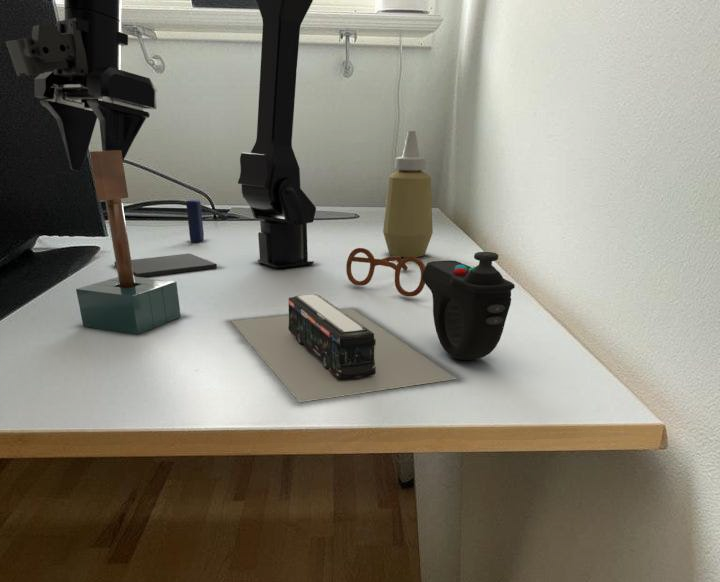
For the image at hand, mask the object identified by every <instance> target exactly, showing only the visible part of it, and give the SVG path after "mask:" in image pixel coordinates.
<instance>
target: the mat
mask: <svg viewBox="0 0 720 582" xmlns="http://www.w3.org/2000/svg"><path fill="white" fill-rule="evenodd" d="M131 261H132V268H133V274H134V277H142V278H150V277H156V276H164V275H171V274H178V273H179V274H180V273H189V272H197V271H204V270H210V269H211V270H212V269H217V268H218V264H217V263H215V262H213V261H210V260H207V259H204V258H202V257H200V256H197V255H194V254H193V253H180V254H173V255H172V254H171V255H161V256H154V257H145V258H144V257H143V258H136V259H131ZM114 266H115V267H116V261H114Z"/></svg>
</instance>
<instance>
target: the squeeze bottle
mask: <svg viewBox="0 0 720 582" xmlns="http://www.w3.org/2000/svg"><path fill="white" fill-rule="evenodd" d="M403 146H404V147H403V151H402V156H399V157H398V156H397V157H395V167H394V168H395V170H396V171H394V172H392V173H391V174H390V175H389V177H388V184H387V193H386V201H385V208H384V209H385V211H384V217H383V219H384V220H383V228H382V232H383V233H382V234H383V237H384V241H385V243H386V247H387V251H388V255H390V256H399V257H400V258H401V259H403V258H406V257H415V258H419V257H423V256H425V255H426V252H427V249H428V248H429V243H430V241H431V239H432V236H433V232H434V231H433V229H434V228H433V203H432V202H433V201H432V177H431V176H430V174H428V173H427V172H424V171H425V170H426V160H427V159H426V157H422V156H420V153H419V152H420V151H419V146H418V138H417V131H416V130H408V131H407V134H406V138H405V142H404V145H403Z"/></svg>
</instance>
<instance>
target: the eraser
mask: <svg viewBox="0 0 720 582" xmlns="http://www.w3.org/2000/svg"><path fill="white" fill-rule="evenodd" d="M201 203H202V202H201V200H200V199H187V200H186V202H185V205H186V212H187V225H188V232H189V234H188V235H189V240H190V242H191V243H202V242H204V240H205V239H204V238H205V234H204V223H203V213H202V212H203V211H202V204H201Z"/></svg>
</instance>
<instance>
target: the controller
mask: <svg viewBox="0 0 720 582" xmlns="http://www.w3.org/2000/svg"><path fill="white" fill-rule="evenodd" d="M473 258H474V260H476V261H478V265H476V266H470V265H467V264H465V263H462V262H459V261H456V260H436V261H435V260H433V261H428V262H427V263H426V265H425V269H424V271H423V274H422V279H423V281H424V283H425V286H427V288H428V289H429V290H430V292H431V295H432V315H433V323H434V328H435V332H436V336H437V338H438V340H439V343H440V345H441V347H442V348H443V350H444V352H446V353H447V354H448V355H449V356H450V357H452V358H454V359H456V360H460V361H461V360H462V361H469V360H476V359H477V360H478V359H481V358H484V357H486V356H488V355H490V354H491V353H492V352H493V351H494V350H495V349H496V347H497V346H498V344H499V342H500V341H501V337H502V335H503V332H504V328H505V324H506V320H507V316H508V313H509V310H510V307H511V303H512V291H513V290H514V289H515V288H516V285H515V284H514V283H513V282H511V281H510V280H508V279H506V278H504V277H503V275H502V274H501V272H500V271H499V270H497V268H496V267H495V266H493V262H496V261H497V260H499V254H498V253H496V252H492V251H477V252H475V253H474V255H473Z"/></svg>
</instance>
